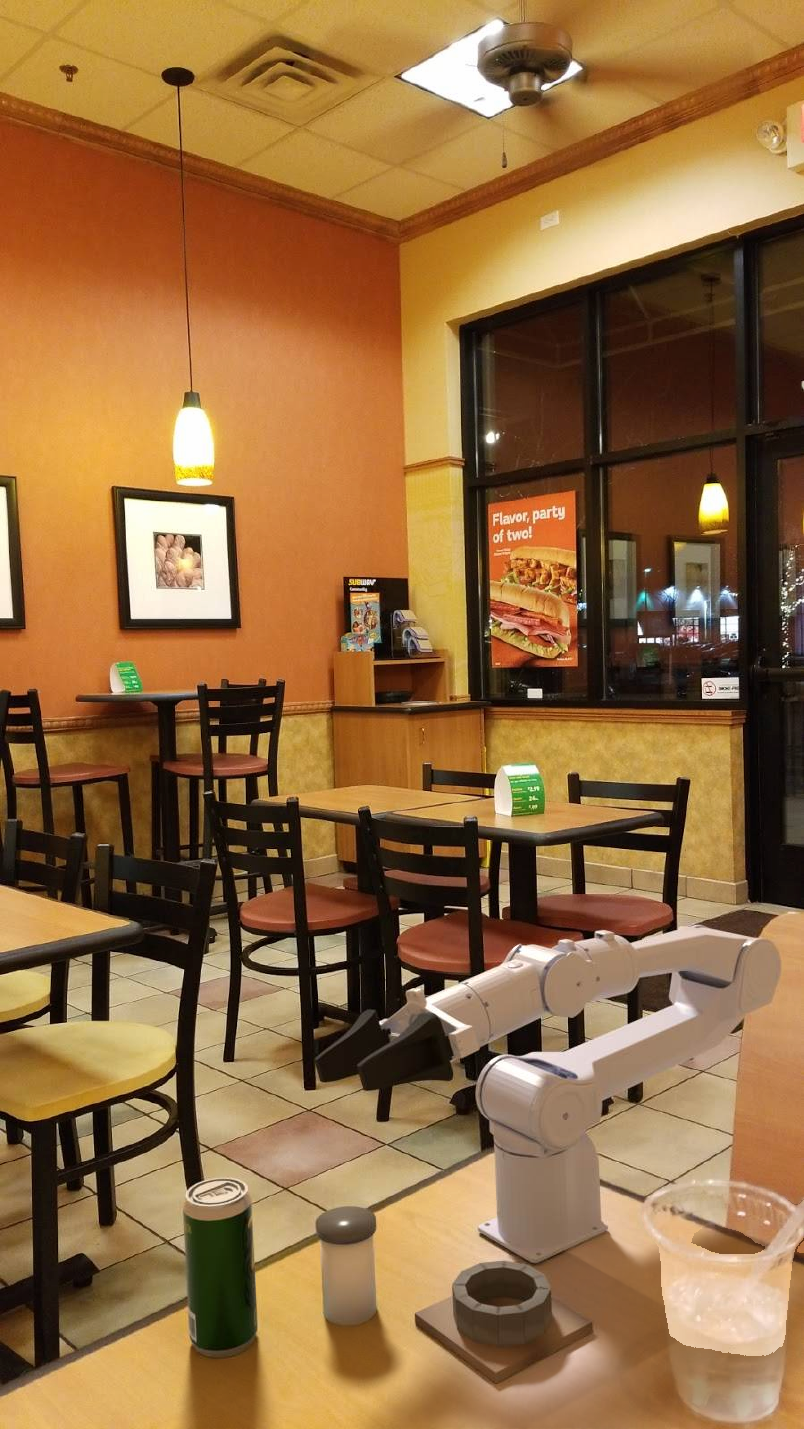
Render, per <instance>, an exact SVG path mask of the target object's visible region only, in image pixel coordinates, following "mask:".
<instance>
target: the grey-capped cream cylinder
mask: <svg viewBox="0 0 804 1429" xmlns="http://www.w3.org/2000/svg"><path fill="white" fill-rule="evenodd" d="M376 1231H377V1217H376V1215H375V1213H374V1212H373V1211H371V1210H370V1209H368V1208H365V1207H361V1206H355V1205H354V1206H352V1205H351V1206H348V1205H347V1206H339V1207H335V1208H331V1209H329V1210H326V1211H324V1212H323V1213H321V1214H319V1216H318V1217H317V1218H316V1219H315V1234H316V1237H317V1238H318V1239H319V1248H320V1251H319V1252H320V1268H321V1270H320V1272H321V1289H322V1290H321V1291H322V1311H323V1316H324V1318H325V1319H326V1320H327V1321H328V1322H330V1323H332V1324H334V1323H335V1325H339V1326H357V1325H360V1324H363V1323H366V1322H367V1321H369V1320H371V1319H372V1318H373V1317H374V1316H375V1314H376V1313H377V1310H378V1309H377V1306H378V1305H377V1290H376V1288H377V1286H376V1269H375V1268H376V1266H375V1246H374V1235H375V1233H376Z"/></svg>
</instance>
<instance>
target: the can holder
mask: <svg viewBox="0 0 804 1429" xmlns="http://www.w3.org/2000/svg"><path fill="white" fill-rule="evenodd" d="M451 1291H452V1295H451V1296H449V1297H447V1298H444V1299H442V1300H439V1301H438V1302H435V1303H434V1304H431V1305H429V1306H427V1307H425V1308H423V1309H420V1310H418V1311H416V1312H415V1313H414V1323H415V1324H417V1326H419V1327H420V1328H421V1329H422V1330H424V1331H425V1332H427V1333H428V1334H429V1335H431V1336H432V1337H434V1339H436V1340H438V1341H439V1342H440V1343H441V1344H443V1345H444V1346H445V1347H447V1348H448V1349H449V1350H451V1351H452V1352H454V1353H455V1354H456V1355H457V1356H458V1357H460V1358H462V1359H463V1360H464V1361H465V1362H466V1363H468V1364H469V1365H471V1366H472V1367H473V1368H475V1369H476V1370H477V1371H479V1373H481V1374H482V1375H484V1376H485V1377H487V1378H488V1379H489V1380H491V1381H492V1382H493V1383H495V1384H498V1383H499V1382H501V1381H504V1380H506V1379H507V1378H509V1377H511V1376H513V1375H515V1374H516V1373H517V1374H518V1373H519V1372H520V1371H522V1370H524V1369H526V1368H527V1367H529V1366H532V1365H534V1364H535V1363H537V1362H539V1361H541V1360H544V1359H545V1358H546V1357H548V1356H551V1355H553V1354H554V1353H557V1351H559V1350H561V1349H563V1348H565V1347H567V1346H569V1345H571V1344H572V1343H575V1342H576V1341H578V1340H580V1339H582V1338H584V1337H585V1336H588V1335H589V1334H591V1333H593V1332H594V1328H593V1327H594V1324H593V1322H594V1321H592V1320H590V1319H589V1318H587V1317H586V1316H585V1315H582V1314H581V1313H579V1312H577V1310H574V1309H573V1308H571V1307H569V1306H567V1305H566V1304H565V1303H563V1302H561V1301H560V1300H559V1299H556V1298H555V1297H554V1296H552V1288H551V1285H550V1283H549V1281H548V1278H547V1277H546V1275H545V1274H544V1273H543V1272H541V1271H539V1270H537V1269H536V1268H534V1267H533V1266H531V1265H529V1264H525V1263H519V1262H513V1261H509V1260H498V1261H485V1262H479V1263H477V1264H474V1265H472V1266H470V1267H468V1268H466V1269H464V1270H462V1271H460V1273H459V1274H458V1276H457V1277H456V1278H455V1279H454V1281H453V1282H452V1284H451Z"/></svg>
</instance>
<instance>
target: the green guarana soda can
mask: <svg viewBox="0 0 804 1429" xmlns="http://www.w3.org/2000/svg"><path fill="white" fill-rule="evenodd" d="M184 1199H185V1202H184V1203H183V1208H182V1214H183V1215H182V1216H183V1236H184V1237H183V1239H184V1252H185V1253H184V1254H185V1255H184V1256H185V1257H184V1258H185V1274H186V1275H185V1276H186V1293H187V1294H186V1295H187V1309H188V1310H187V1311H188V1312H187V1313H188V1315H187V1316H188V1329H189V1330H188V1331H189V1335H188V1336H189V1339H190V1341H191V1343H192V1345H193V1347H194V1348H195V1351H196V1352H197V1353H199V1354H200V1355H202V1356H204V1357H206V1358H214V1359H215V1358H216V1359H222V1358H228V1357H232V1356H236V1355H238V1354H240V1353H242V1352H244V1351H246V1350H247V1349H248V1348H249V1347H250V1346H251V1345H252V1343H253V1342H254V1340H255V1338H256V1335H257V1332H258V1325H259V1324H258V1306H257V1304H258V1302H257V1288H256V1286H257V1285H256V1267H255V1265H256V1264H255V1246H254V1227H253V1207H252V1197H251V1196H250V1194H249V1185H248V1184H247V1183H246V1182H244V1181H243V1180H242V1179H238V1178H234V1177H213V1178H209V1179H205V1180H202V1181H199V1182H197V1183H195V1184H193V1185H192V1186H191V1187H189V1188H188V1189H187V1190H186V1192H185V1198H184Z"/></svg>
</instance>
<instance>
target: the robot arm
mask: <svg viewBox="0 0 804 1429" xmlns="http://www.w3.org/2000/svg"><path fill="white" fill-rule="evenodd" d="M665 974H671V980H670V987H669V993H668V994H669V995H668V1000H669V1001H670V1002H671V1004H672V1005H670V1006H667V1007H665V1008H663V1009H660V1010H658V1011H656V1012H653V1013H651V1014H649V1015H646V1016H644V1017H641V1018H639V1019H637V1020H635V1021H632V1022H630V1023H628V1024H625V1025H623V1026H621V1027H619V1028H617V1029H614V1030H611V1031H609V1032H607V1033H604V1034H602V1035H599V1036H598V1037H596V1038H592V1039H590V1040H587V1041H586V1042H583V1043H581V1044H579V1045H577V1046H574V1047H572V1048H569V1049H568V1050H565V1051H532V1052H529V1053H527V1054H524V1055H513V1054H500V1055H498V1056H496V1057H493V1058H492V1059H490V1061H489V1062H488V1063H487V1064H485V1065H484V1067H483V1068H482V1070H481V1071H480V1074H479V1075H478V1076H479V1077H478V1079H477V1082H476V1085H475V1086H476V1087H475V1101H476V1105H477V1109H478V1110H479V1112H480V1114H481V1115H483V1117H484V1118H485V1119H487V1120H489V1132H490V1134H492V1135H493V1148H494V1171H495V1172H494V1173H495V1196H496V1197H495V1198H496V1199H495V1200H496V1217H494V1218H492V1219H490V1220H487V1221H485V1222H483V1223H480V1224H479V1225H477V1232H479V1233H481V1234H482V1235H484V1236H486V1237H487V1238H489V1239H491V1240H492V1241H494V1242H496V1243H497V1244H499V1245H501V1246H503V1247H504V1248H506V1249H508V1251H511V1252H513V1253H514V1254H516V1255H518V1256H519V1257H521V1258H523V1259H524V1260H527V1262H530V1263H532V1264H538V1263H540V1262H542V1261H544V1260H547V1259H549V1258H551V1257H553V1256H555V1255H557V1254H559V1253H562V1252H563V1251H566V1250H568V1249H570V1248H572V1247H574V1246H577V1245H579V1244H581V1243H583V1242H585V1241H587V1240H590V1239H592V1238H594V1237H596V1236H598V1235H600V1234H602V1233H604V1232H606V1231H608V1230H609V1225H608V1224H607V1223H606V1222H605V1221H602V1208H601V1206H602V1203H601V1184H600V1183H601V1179H600V1176H601V1175H600V1160H599V1156H598V1152H597V1149H596V1147H595V1145H594V1143H593V1141H592V1139H591V1138H590V1135H588V1134H587V1133H586V1131H587V1130H588V1129H589V1128H591V1127H592V1126H594V1125H597V1124H598V1123H600V1121H601V1120H602V1119H601V1118H602V1112H603V1111H602V1110H603V1101H605V1100H607V1099H609V1098H611V1097H613V1096H615V1095H617V1094H620V1093H621V1092H623V1091H626V1090H628V1089H630V1088H632V1087H635V1086H637V1085H638V1084H641V1083H642V1082H645V1081H647V1080H649V1079H651V1078H653V1077H656V1076H658V1075H659V1074H662V1073H664V1072H666V1071H668V1070H670V1069H673V1068H675V1067H676V1066H680V1064H683V1063H685V1062H687V1061H689V1060H691V1059H693V1058H696V1057H698V1056H699V1055H701V1054H704V1053H706V1052H708V1051H711V1050H713V1049H715V1048H716V1047H718V1046H719V1045H721V1043H722V1042H724V1040H725V1039H727V1037H729V1035H730V1034H731V1033H732V1031H734V1030H735V1028H737V1026H739V1024H740V1023H741V1022H742V1021H743V1020H744V1018H746V1016H748V1014H750V1013H753V1012H754V1011H756V1010H759V1009H761V1008H763V1007H765V1006H767V1005H769V1004H771V1003H772V1002H773V998H774V996H775V992H776V989H777V987H778V984H779V981H780V978H781V974H782V961H781V955H780V952H779V949H778V947H777V945H776V944H775V943H774V942H773V941H772V940H770V939H769V938H765V937H752V936H748V935H747V936H746V935H743V934H738V933H732V932H728V931H724V930H719V929H714V928H710V927H708V926H706V925H702V924H695V925H691V926H690V925H689V926H688V925H685V926H684V925H680V926H679V927H678V928H677V929H675V930H672V931H669V932H666V933H662V934H659V935H655V936H651V937H647V938H644V939H640V940H637V941H633V942H629V941H628V940H627V938H624V937H623V936H621V935H617V934H615V932H613V931H610V930H605V929H602V930H596V931H595V932H594V937H593V938H589V939H583V940H577V941H574V940H571V939H567V938H564V939H559V940H558V942H557V945H555V946H552V947H551V948H550V947H545V946H542V945H537V944H527V945H523V944H522V943H519V944H517V945H516V946H514V947H513V948H512V949H511V950H510V951H509V952H508V954H507V955H506V957H505V959H504V960H503V962H501V964H500V965H497V966H495V967H492V968H490V969H489V970H486V971H484V972H482V973H480V974H477V975H475V976H472V977H469V978H467V979H465V980H463V981H461V982H458V983H457V984H454V985H452V986H450V987H447V988H445V989H443V990H441V991H438V992H435V993H434V994H431V995H429V996H427V997H425V993H424V991H423V990H422V989H420V988H415V987H414V988H411V989H408V990H406V991H405V997H406V1004H405V1005H404V1006H402V1007H401V1008H400V1009H399V1010H398V1011H397V1012H395V1013H394V1014H393V1015H391V1016H390V1017H389V1018H383V1019H382V1020H380V1019H379V1017H378V1013H377V1010H375V1009H366V1010H365V1011H363V1012H362V1013H361V1014H359V1016H358V1018H357V1019H356V1021H355V1022H354V1024H353V1025H352V1027H351V1028H350V1029H349V1030H348V1031H347V1032H346V1033H344V1035H342V1036H341V1037H340V1038H339V1039H338V1040H336V1041H335V1042H334V1043H332V1044H331V1045H330V1046H328V1047H327V1048H326V1049H324V1050H323V1051H322V1052H321V1053H320V1054H318V1055H317V1056H316V1057H315V1058H314V1060H313V1061H314V1064H315V1068H316V1072H317V1075H318V1078H319V1081H320V1083H323V1084H325V1083H333V1082H338V1081H340V1080H344V1079H347V1078H351V1077H354V1076H357V1075H358V1076H359V1078H360V1079H359V1080H360V1082H361V1087H362V1090H363V1091H366V1092H370V1091H371V1092H372V1091H378V1090H379V1091H380V1090H382V1089H387V1088H392V1087H395V1086H399V1085H404V1084H405V1085H406V1084H408V1083H415V1082H424V1081H442V1082H443V1081H444V1082H450V1081H452V1080H453V1079H454V1069H453V1066H452V1062H455V1061H456V1060H457V1059H463V1058H465V1057H468V1056H469V1055H471V1054H473V1053H475V1052H477V1051H478V1052H479V1050H480V1048H481V1047H484V1046H485V1045H487V1044H489V1043H491V1042H494V1041H495V1040H497V1039H500V1038H501V1037H503V1036H505V1035H507V1034H510V1033H512V1032H514V1031H516V1030H518V1029H520V1028H522V1027H524V1026H526V1025H529V1024H531V1023H532V1022H534V1021H536V1020H539V1019H541V1018H542V1017H544V1016H545V1015H546V1014H548V1015H551V1016H554V1017H560V1018H572V1019H573V1018H574V1017H576V1016H577V1015H579V1014H580V1013H581V1012H582V1011H583V1010H584V1008H585V1006H586V1005H587V1004H588V1003H591V1002H595V1001H601V1000H605V999H608V998H612V997H617V996H621V995H626V994H628V993H630V992H632V991H633V990H634V988H635V987H636V986H637V984H638V983H639V982H638V981H639V979H640V978H645V977H646V978H647V977H653V976H658V975H659V976H660V975H665Z"/></svg>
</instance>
